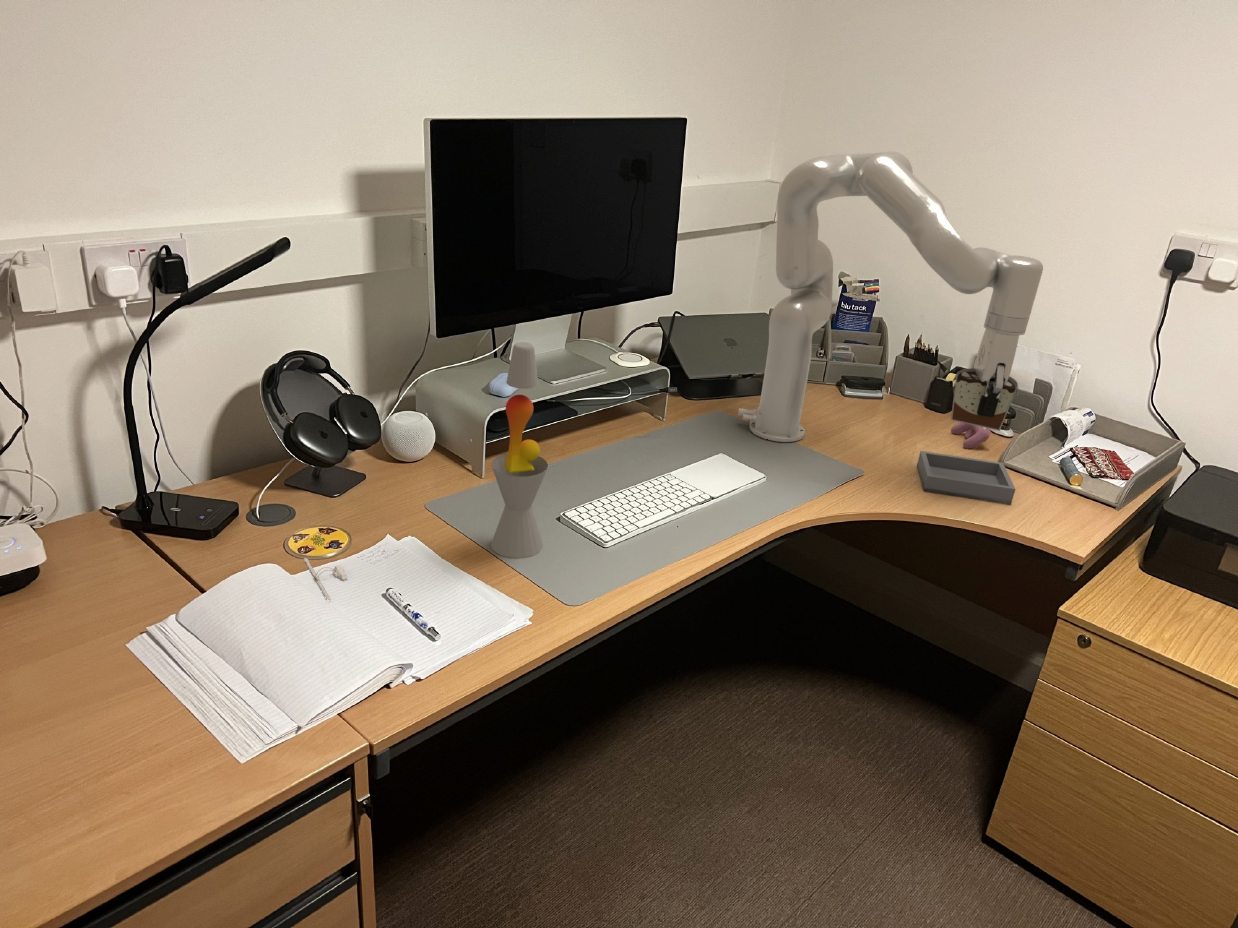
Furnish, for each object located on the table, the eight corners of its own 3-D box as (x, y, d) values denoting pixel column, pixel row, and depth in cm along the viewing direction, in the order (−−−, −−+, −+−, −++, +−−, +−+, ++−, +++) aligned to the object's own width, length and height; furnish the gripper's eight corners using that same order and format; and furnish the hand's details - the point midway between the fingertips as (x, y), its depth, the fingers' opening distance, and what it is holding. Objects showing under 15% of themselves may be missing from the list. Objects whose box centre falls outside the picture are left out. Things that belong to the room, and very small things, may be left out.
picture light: (302, 560, 139) (301, 549, 138) (330, 554, 141) (329, 543, 140) (328, 606, 128) (327, 594, 128) (357, 599, 131) (357, 587, 130)
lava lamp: (498, 562, 142) (503, 355, 127) (483, 535, 149) (486, 336, 134) (551, 554, 146) (562, 352, 131) (534, 527, 153) (542, 334, 138)
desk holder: (923, 491, 179) (927, 476, 177) (916, 465, 190) (920, 450, 189) (1010, 504, 176) (1015, 489, 175) (998, 477, 188) (1002, 462, 186)
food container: (1010, 421, 178) (1023, 375, 174) (1007, 432, 173) (1021, 385, 169) (947, 407, 183) (958, 362, 178) (943, 418, 178) (954, 372, 173)
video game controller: (977, 456, 201) (998, 432, 199) (962, 447, 200) (982, 423, 198) (962, 439, 210) (982, 416, 208) (947, 430, 209) (967, 406, 207)
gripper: (978, 308, 177) (956, 392, 184) (994, 332, 161) (969, 422, 169) (1017, 313, 176) (993, 397, 183) (1036, 337, 160) (1010, 428, 168)
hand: (982, 408), depth 176 cm, fingers closed on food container, 5 cm apart
